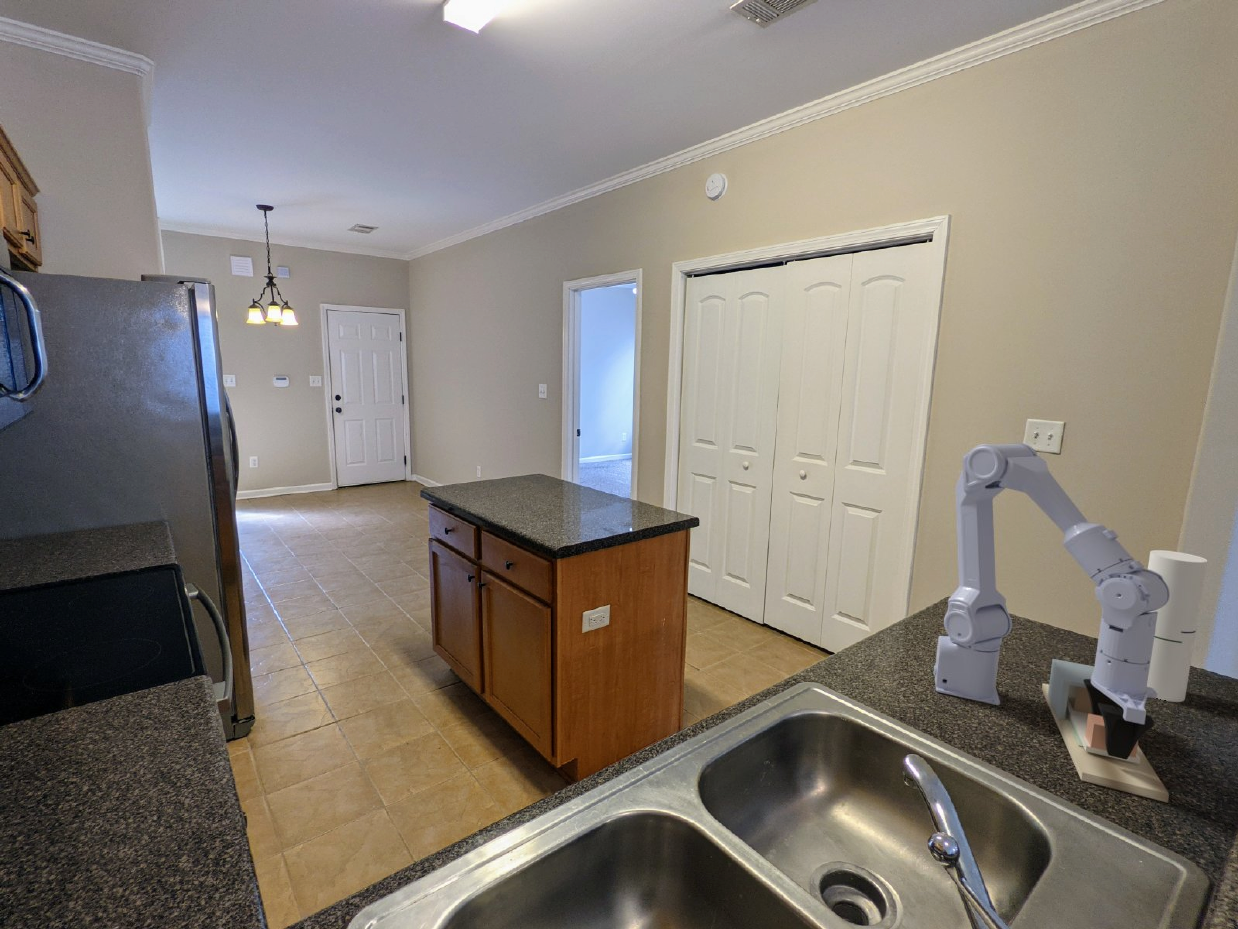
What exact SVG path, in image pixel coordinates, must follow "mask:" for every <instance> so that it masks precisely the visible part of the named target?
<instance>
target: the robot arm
mask: <svg viewBox="0 0 1238 929" xmlns="http://www.w3.org/2000/svg"><path fill="white" fill-rule="evenodd" d="M961 459H962V460H961V464H962V469H961V470H962V471H961V473H960V475H959V478H958V480H957V482H956V486H955V491H954V492H955V515H956V516H955V517H956V518H955V519H956V536H957V537H956V539H957V540H956V541H957V564H958V566H957V567H958V568H957V569H958V572H957V573H958V588H956V590H955V591H954V592H953V594H952V595H951V596H950V597H949V598H948V600H947V605H948V606H947V611H946V613H945V615H944V618H943V626H944V629H945V632H946V634H947V635H939V636H938V639H937V645H936V646H937V647H936V658H935V664H934V665H933V676H934V681H935V682H934V683H935V692H937V693H941V694H945V695H950V696H955V697H959V698H963V699H968V700H972V701H977V702H982V703H987V704H991V705H994V706H995V705H996V706H1000V705H1001V701H1000V698H999V694H998V691H997V687H996V684H997V677H998V676H997V675H998V668H999V659H1000V658H999V657H1000V651H1001V650H1000V649H1001V645H1002V643H1003V638H1005V637H1007V636H1008V635H1009V634H1010V633H1011V631H1012V628H1013V621H1012V618H1011V615H1010V613H1009V611H1008V609H1007V604H1006V598H1005V596H1004V595H1002V593H1001V592H999V590H997V584H996V583H997V582H996V559H995V558H996V556H995V555H996V554H995V551H996V550H995V534H994V533H995V531H994V528H995V526H994V505H993V504H994V501H993V500H994V498H996V497H997V496H998V495H999V494H1000V493H1002V492H1003V491H1005V489H1010V490H1012V491H1013V490H1014V491H1017V492H1021V493H1024V494H1026V495H1027V496H1029V498H1030V499H1031V500H1032V501H1033V502H1034V503H1035V504H1036V505H1037V506H1038V507H1039V508H1040V510H1041V511H1042V512H1043V513H1044V514H1045V515H1046V516H1047V517H1048V518H1049V519H1050V520H1051V521H1052V522H1053V523H1054V524H1055V525H1056V526H1057V527H1058V528H1059V530H1061V532H1062V533H1063V535H1064V537H1063V542H1062V543H1063V544H1062V545H1063V547H1064V549H1066V550H1067V552H1068V553H1069V555H1071V556H1072V558H1073V559H1074V560H1075V562H1076V563H1077V564H1078V565H1079V566H1080V567H1081V568H1082V570H1083V571H1084V573H1085V574H1086V575H1087V576H1088V578H1089V579H1090V580H1091V581H1092V582H1093V583H1094V584H1095V585H1096V587H1094V593H1095V598H1096V601H1097V602H1098V603H1099V605H1100V606H1101V611H1102V613H1101V618H1100V625H1099V631H1098V632H1099V634H1098V638H1097V639H1098V640H1097V646H1096V647H1097V648H1096V654H1095V660H1094V661H1095V662H1094V672H1093V674H1092V676H1091V679H1084V680H1083V681H1084V684H1085V686H1086V688H1087V691H1088V694H1089V697H1090V702H1091V708H1092V714H1094V715H1098V716H1102V717H1103V720H1104V725H1105V742H1106V750H1107V753H1108V755H1109V756H1113V757H1117V758H1122V759H1128V757H1129V756H1130V754H1131V752H1132V750H1133V748H1134V746H1135V745H1136V743H1137V741H1138V742H1139V740H1140V739H1141V737H1143V735H1144V734H1146V732H1148V731H1149V730H1151V729H1153V728H1154V726H1155V720H1154V718H1152V716H1150V715H1148V714H1147V710H1146V708H1145V705H1146V702H1147V699H1148V698H1152V699H1156V698H1157V692H1156V691H1155V690H1154V689H1153V688H1151V687H1147V682H1148V675H1149V669H1150V663H1151V657H1152V650H1153V643H1154V637H1155V631H1156V622H1157V616H1158V612H1151V611H1155V610H1158V609H1160V608H1162V607H1163V606H1165V605H1166V603H1167V602H1168V600H1169V597H1170V591H1169V588H1168V586H1167V584H1166V583H1165V581H1164V580H1163V577H1162V576H1161V575H1160V574H1158V573H1156V572H1154V571H1152V570H1149V569H1148V568H1145V566H1144V565H1143V563H1142V562H1141V561H1139V560H1135V559H1134V558H1133V557H1132V555H1131V554H1130V552H1128V551H1127V550H1126V548H1125V547H1124V546H1123V545H1122V544H1121V543H1120V542H1119V540H1117V539H1118V538H1119V534H1118V533H1117V532H1116V531H1115V530H1114V529H1108V528H1106V527H1105V525H1103V524H1099V523H1094V522H1090V521H1088V519H1087V518H1086V516H1085V515H1084V514H1083V513H1082V511H1080V509H1079V508H1078V507H1077V505H1076V504H1075V502H1073V500H1072V499H1071V498H1070V496H1069V495H1068V494H1067V492H1066V491H1065V490H1064V489H1063V488H1062V487H1061V485H1060V484H1059V483H1058V481H1057V480H1056V478H1055V477H1054V476H1053V475H1052V473H1051V471H1049V468H1048V464H1047V461H1046V460H1045V459H1044V458H1043V457H1041V456H1040V455H1038V453H1037V451H1036V450H1035V449H1034V448H1033V447H1032V446H1030V445H1029V444H1026V443H1023V442H1014V443H1009V444H1008V443H1007V444H1006V443H1005V444H990V443H988V444H987V443H984V444H983V443H982V444H978V445H977V446H975V447H973V448H972V449H971V450H970V451H968V452H967V453H966V454H965V455H964V456H962V458H961Z"/></svg>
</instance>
